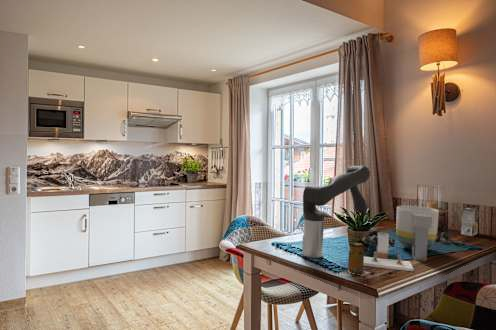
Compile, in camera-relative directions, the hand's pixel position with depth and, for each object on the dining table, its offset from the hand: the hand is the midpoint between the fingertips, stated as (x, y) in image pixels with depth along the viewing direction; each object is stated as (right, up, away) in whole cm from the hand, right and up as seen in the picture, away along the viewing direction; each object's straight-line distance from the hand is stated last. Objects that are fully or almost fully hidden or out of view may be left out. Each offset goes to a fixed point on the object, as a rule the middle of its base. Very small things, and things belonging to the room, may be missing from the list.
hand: (384, 244), depth 164 cm
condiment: (-19, -7, -20) cm, 29 cm away
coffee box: (+75, -6, +55) cm, 93 cm away
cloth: (+47, -7, +32) cm, 57 cm away
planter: (+23, -7, +17) cm, 29 cm away
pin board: (-2, -7, -10) cm, 12 cm away
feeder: (+17, -7, +1) cm, 19 cm away
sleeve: (0, -6, +2) cm, 7 cm away
